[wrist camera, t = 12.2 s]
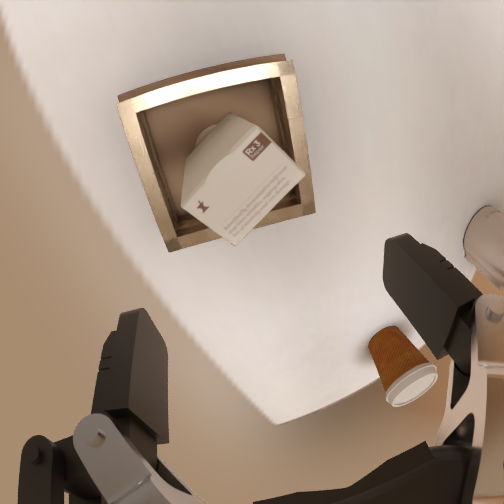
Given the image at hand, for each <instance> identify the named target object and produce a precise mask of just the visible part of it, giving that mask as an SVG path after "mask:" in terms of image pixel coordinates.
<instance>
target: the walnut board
mask: <svg viewBox="0 0 504 504" xmlns="http://www.w3.org/2000/svg"><path fill="white" fill-rule="evenodd" d="M280 61H286V59H285V54H279V55H271V56H265V57H258V58H252V59H247V60H241V61H236V62H231V63H226V64H221V65H217V66H213V67H208V68H204V69H200V70H196V71H192V72H189V73H185V74H181V75H178V76H174V77H171V78H168V79H164V80H161V81H158V82H155V83H152V84H149V85H146V86H143V87H140V88H137V89H135V90H132V91H129V92H127V93H124V94H121V95H119V96H118V100H119V103H120V102H123V101H126V100H128V99H131V98H134V97H137V96H139V95H142V94H145V93H148V92H151V91H154V90H157V89H160V88H163V87H167V86H170V85H173V84H177V83H180V82H184V81H187V80H191V79H195V78H198V77H202V76H206V75H210V74H215V73H219V72H224V71H228V70H233V69H238V68H243V67H248V66H254V65H260V64H266V63H273V62H280ZM230 112H231V113H233V114H235V115H237V116H239V117H241V118H243V119H245V120H247V121H248V122H250V123H253V124H255V125H257V126H259V127H260V128H261V129H262V130H263V131H264V132H265V133H266V134H267V135H268V136H269V137H270V138H271V139H272V140H273V141H274V142H275V143H276V144H277V145H278V146H279V147H280V148H281V146H280V141H279V135H278V130H277V124H276V119H275V114H274V109H273V104H272V99H271V94H270V89H269V84H268V79H261V80H256V81H250V82H245V83H240V84H235V85H231V86H226V87H222V88H218V89H213V90H209V91H205V92H202V93H198V94H194V95H190V96H187V97H183V98H180V99H176V100H173V101H170V102H167V103H163V104H160V105H157V106H154V107H151V108H148V109H145V113H146V116H147V119H148V123H149V126H150V130H151V133H152V136H153V140H154V143H155V146H156V149H157V152H158V156H159V159H160V162H161V165H162V168H163V171H164V174H165V177H166V180H167V183H168V186H169V189H170V192H171V195H172V198H173V201H174V204H175V207H176V210H177V213H178V216H182V215H186V214H189V212H187V211H186V210H184V209H183V208H182V207H181V197H182V187H183V178H184V169H185V161H186V158H187V157H188V156H189V155H190V153H191V152H192V151H193V150H194V149H195V148H196V147H197V146H198V145H199V144H200V143H201V141H202V140H203V139H204V138H205V137H206V136H207V135H208V134H209V133H210V132H211V131H212V130H213V129H214V128H215V127H216V125H217V124H218V123H219V122H220V121H221V120H222V119H223V118H224V117H225V116H226V115H227V114H228V113H230Z"/></svg>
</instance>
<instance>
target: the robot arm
mask: <svg viewBox="0 0 504 504" xmlns="http://www.w3.org/2000/svg"><path fill="white" fill-rule="evenodd" d="M464 249H465V251H466V256H465V258H466V259H467V260H468V261H470V262H471V263H472V264H473V265H474V266H475V267H476V268H477V269H478V270H479V271H480V272H482V273H483V274H484V275H485V276H486V277H487V278H488V279H489V280H490V281H491V282H492V283H493V284H494V285H495V286H496V287H497V288H498V289H499V290H502V289H504V215H503V214H501V213H500V212H499V211H497V210H495V209H494V208H492V207H490V206H487V207H484V208H482V209H481V210H480V211H478V213H477V214H476V215H475V216H474V217H473V219H472V220H471V222H470V224H469V226H468V228H467V231H466V234H465V238H464ZM383 282H384V286H385V288H386V290H387V292H388V293H389V295H390V296H391V297H392V299H393V300H394V301H395V303H396V304H397V305H398V306H399V308H400V309H401V310H402V312H403V313H404V314H405V316H406V317H407V318H408V320H409V321H410V322H411V324H412V325H413V326H414V328H415V329H416V330H417V332H418V333H419V335H420V336H421V337H422V339H423V340H424V342H425V343H426V344H427V346H428V347H429V349H430V350H431V351H432V353H433V354H434V356H435V357H436V359H437V360H438V359H440V358H442V357H444V356H446V355H448V354H449V355H450V356H451V358H452V360H451V362H450V371H449V383H448V394H447V402H446V409H445V415H444V418H443V421H442V423H441V426H440V428H439V431H438V434H437V438H436V442H435V446H433V447H428V445H427V443H426V441H424V442H423V443H421V444H419V445H417V446H415V447H413V448H412V449H409V450H407V451H405V452H403V453H401V454H399V455H397V456H395V457H393V458H391V459H389V460H387V461H386V462H384V463H383V464H382V465H380V466H379V467H378V468H376V469H375V470H374V471H372V472H371V473H369V474H368V475H367V476H365V477H363V478H362V479H361V480H359V481H358V482H356V483H354V484H353V485H351V486H350V487H347V488H342V489H333V490H323V491H309V492H296V493H293V494H289V495H284V496H280V497H276V498H271V499H266V500H261V501H256V502H253V504H504V297H502V296H500V295H497V294H485V295H483V294H482V293H481V292H480V291H479V290H478V289H477V288H476V287H475V286H474V285H473V284H472V283H471V282H470V281H469V280H468V279H467V278H466V277H465V276H464V275H463V274H462V273H461V272H460V271H459V270H458V269H457V268H454V266H453V265H452V264H451V263H450V262H449V261H448V260H447V261H446V258H445V257H444V256H442V255H441V254H440V253H439V252H438V251H437V250H436V249H434V248H432V247H429V246H427V245H425V244H423V243H422V244H420V243H419V242H418V241H416V240H415V239H414V238H413V237H412V236H411V235H409V234H407V233H405V234H402V235H398V236H395V237H392V238H389V239H387V240H386V242H385V248H384V265H383ZM168 431H169V429H168V353H167V348H166V345H165V342H164V340H163V338H162V336H161V335H160V333H159V331H158V330H157V328H156V326H155V325H154V323H153V321H152V320H151V318H150V316H149V315H148V313H147V311H146V310H145V309H144V308H139V309H136V310H132V311H128V312H124V313H121V314H120V317H119V322H118V326H117V331H112V332H111V333H110V335H109V337H108V338H107V340H106V341H105V343H104V345H103V350H102V354H101V361H100V365H99V372H98V375H97V380H96V386H95V392H94V398H93V405H92V411H91V415H88V416H86V417H85V418H83V419H82V420H81V421H80V422H79V423H78V425H77V426H76V429H75V431H74V434H73V436H70V437H68V438H65V439H62V440H60V441H57V442H54V443H53V442H52V441H50V440H49V439H47V438H46V437H44V436H42V435H36V436H33V437H31V438H30V439H29V440H28V441H27V442H26V444H25V445H24V447H23V450H22V454H21V463H20V473H19V487H18V504H64V492H66V493H68V494H69V504H209V503H207V502H206V501H204V500H203V499H201V498H200V497H199V496H198V495H196V494H195V493H194V492H193V491H192V490H191V489H190V488H189V487H188V486H187V485H186V484H185V483H184V482H183V481H182V480H181V479H180V478H179V477H178V476H177V475H176V474H175V473H174V472H173V471H172V470H171V469H170V468H169V466H168V465H166V463H165V462H164V461H163V460H162V459H161V458H160V457H159V456H158V455H157V444H166V443H169V432H168Z"/></svg>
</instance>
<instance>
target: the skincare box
mask: <svg viewBox="0 0 504 504" xmlns="http://www.w3.org/2000/svg"><path fill="white" fill-rule="evenodd" d="M304 176H305V172H304V171H303V170H302V169H301V168H300V167H299V166H298V165H297V164H296V163H295V162H294V161H293V160H292V159H291V158H290V157H289V156H288V155H287V154H286V153H285V152H284V151H283V150H282V149H281V148H280V147H279V146H278V145H277V144H276V143H275V142H274V141H273V140H272V139H271V138H270V137H269V136H268V135H267V134H266V133H265V132H264V131H263V130H262V129H261V128H260V127H259V126H257V125H255V124H253V123H250V122H248V121H247V120H245V119H243V118H241V117H239V116H237V115H235V114H233V113H231V112H230V113H228V114H227V115H226V116H225V117H224V118H223V119H222V120H221V121H220V122H219V123H218V124H217V125H216V127H215V128H214V129H213V130H212V131H211V132H210V133H209V134H208V135H207V136H206V137H205V138H204V139H203V140H202V141H201V143H200V144H199V145H198V146H197V147H196V148H195V149H194V150H193V151H192V152H191V153H190V155H189V156H188V157H187V158H186V161H185V169H184V178H183V187H182V197H181V207H182V208H183V209H184V210H186V211H187V212H189V213H190V214H191V215H193V216H194V217H195V218H197V219H198V220H199V221H201V222H202V223H204V224H205V225H206V226H208V227H209V228H210V229H212V230H213V231H214V232H216V233H217V234H219V235H220V236H221V237H223V238H224V239H225V240H227V241H228V242H230V243H231V244H232V245H234V246H236V245H237V244H238V243H239V242H240V241H241V240H242V239H243V238H244V237H245V236H246V235H247V234H248V233H249V232H250V231H251V230H252V229H253V228H254V227H255V226H256V225H257V224H258V223H259V222H260V221H261V220H262V219H263V218H264V217H265V216H266V215H267V214H268V212H269V211H270V210H271V209H272V208H273V207H274V206H275V205H276V204H277V203H278V202H279V201H280V200H281V199H282V198H283V197H284V196H285V195H286V194H287V193H288V192H289V191H290V190H291V189H292V188H293V187H294V186H295V185H296V184H297V183H298V182H299V181H300V180H301V179H302V178H303V177H304Z"/></svg>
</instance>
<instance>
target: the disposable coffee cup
mask: <svg viewBox="0 0 504 504" xmlns="http://www.w3.org/2000/svg"><path fill="white" fill-rule="evenodd" d="M369 350H370V352H371V355H372V357H373V360H374V362H375V365H376V368H377V370H378V373H379V376H380V378H381V381H382V384H383V386H384V389H385V392H386V401H387V402H389V403H391V404H392V406H394V407H399V406H402V405H405V404H408V403H410V402H412V401H413V400H415V399H417V398H418V397H420V396H421V395H422V394H424V393H425V392H426V391H427V390H428V389H429V388H430V387H431V386H432V385H433V384H434V383H435V381H436V380H437V377H438V375H437V372H436V369H437V368H436V366H434V365H433V364H432V363H429V361H428V360H427V359H426V358H425V357H424V356H423V355H422V354H421V353H420V351H419V350H418V349H417V348H416V347H415V346H414V345H413V344H412V343H411V342H410V340H409V339H408V338H407V337H406V336H405V335H404V334H403V333H402V332H401V331H400V330H399V329H398V328H397V327H395V326H391V327H387V328H385V329H383V330H381V331H380V332H378V333H377V334H376V335H375V336H374V337H373V338H372V339H371V341H370V343H369Z"/></svg>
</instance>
